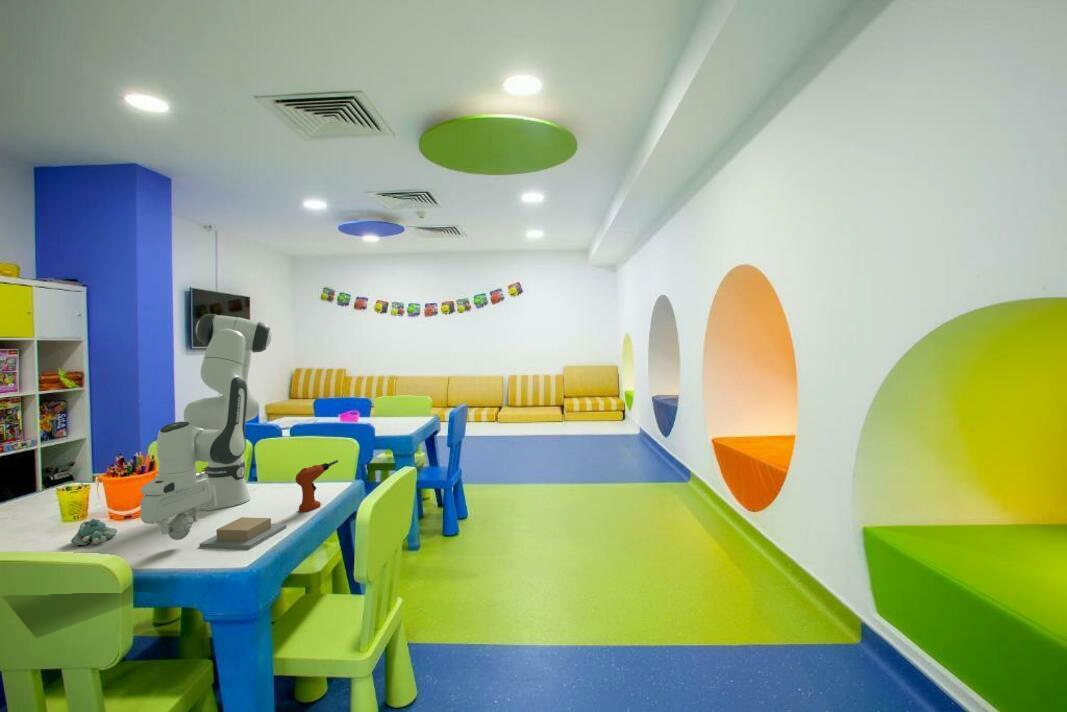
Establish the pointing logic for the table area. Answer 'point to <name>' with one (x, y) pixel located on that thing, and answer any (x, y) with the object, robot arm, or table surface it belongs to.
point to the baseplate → (243, 543)
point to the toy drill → (310, 485)
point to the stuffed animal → (93, 532)
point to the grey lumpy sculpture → (180, 526)
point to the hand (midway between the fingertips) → (179, 527)
